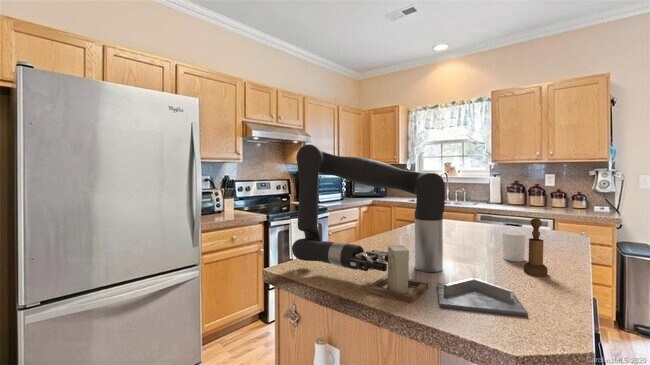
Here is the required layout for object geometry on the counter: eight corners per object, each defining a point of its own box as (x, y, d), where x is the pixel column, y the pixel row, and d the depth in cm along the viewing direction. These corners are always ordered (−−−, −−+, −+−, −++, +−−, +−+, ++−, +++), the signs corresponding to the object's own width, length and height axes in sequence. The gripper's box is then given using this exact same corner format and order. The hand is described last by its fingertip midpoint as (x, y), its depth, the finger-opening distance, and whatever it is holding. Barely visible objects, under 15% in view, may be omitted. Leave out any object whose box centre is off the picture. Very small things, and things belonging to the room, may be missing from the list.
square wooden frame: (387, 279, 100) (387, 274, 100) (428, 288, 92) (428, 282, 92) (366, 291, 89) (366, 286, 89) (410, 302, 81) (410, 297, 81)
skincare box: (387, 286, 93) (387, 245, 93) (401, 285, 94) (401, 244, 93) (393, 294, 87) (393, 250, 87) (409, 293, 88) (409, 250, 87)
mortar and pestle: (551, 277, 100) (552, 220, 100) (528, 275, 101) (529, 219, 101) (541, 270, 107) (542, 217, 106) (520, 269, 108) (520, 216, 107)
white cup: (525, 258, 122) (526, 232, 122) (525, 263, 115) (525, 235, 115) (502, 255, 126) (502, 230, 126) (500, 260, 120) (501, 233, 119)
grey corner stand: (437, 285, 94) (437, 273, 94) (509, 292, 88) (510, 279, 88) (439, 307, 78) (439, 293, 78) (527, 317, 73) (528, 302, 73)
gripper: (332, 248, 95) (381, 256, 85) (357, 239, 107) (403, 246, 97) (332, 272, 95) (381, 283, 86) (357, 262, 107) (403, 270, 97)
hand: (393, 263), depth 91 cm, fingers open, 8 cm apart
